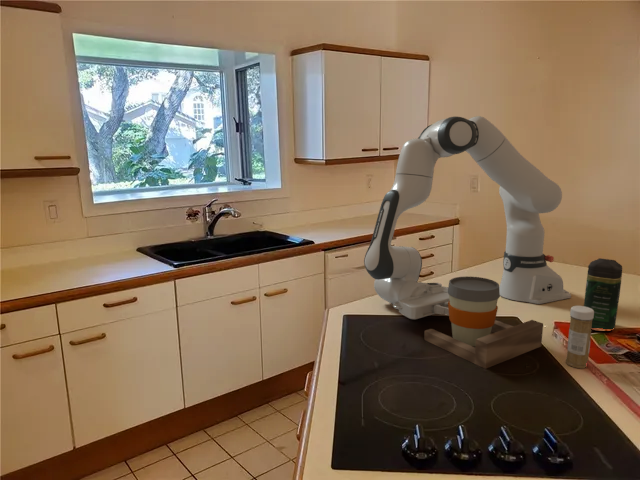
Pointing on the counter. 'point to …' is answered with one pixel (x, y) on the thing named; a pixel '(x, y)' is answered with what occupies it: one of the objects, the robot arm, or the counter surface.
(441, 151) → the robot arm
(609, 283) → the coffee jar
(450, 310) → the reusable coffee cup
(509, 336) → the walnut bay
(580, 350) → the spice jar
